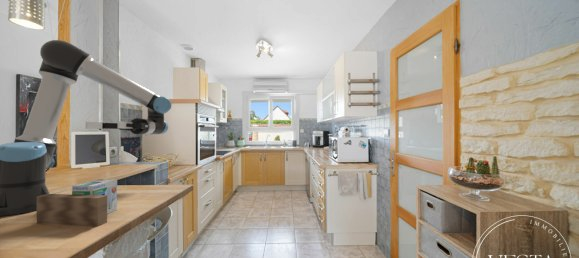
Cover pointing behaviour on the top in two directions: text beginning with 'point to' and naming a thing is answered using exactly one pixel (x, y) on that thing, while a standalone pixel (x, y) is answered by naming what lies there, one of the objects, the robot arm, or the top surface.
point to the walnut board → (72, 209)
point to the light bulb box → (99, 191)
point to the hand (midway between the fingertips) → (102, 125)
